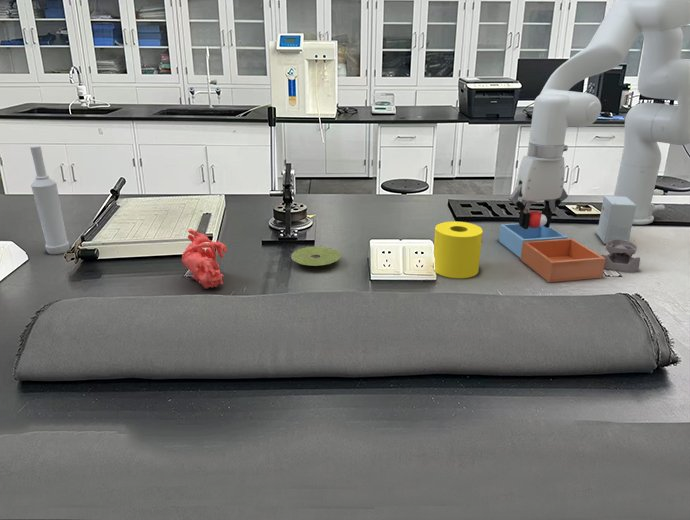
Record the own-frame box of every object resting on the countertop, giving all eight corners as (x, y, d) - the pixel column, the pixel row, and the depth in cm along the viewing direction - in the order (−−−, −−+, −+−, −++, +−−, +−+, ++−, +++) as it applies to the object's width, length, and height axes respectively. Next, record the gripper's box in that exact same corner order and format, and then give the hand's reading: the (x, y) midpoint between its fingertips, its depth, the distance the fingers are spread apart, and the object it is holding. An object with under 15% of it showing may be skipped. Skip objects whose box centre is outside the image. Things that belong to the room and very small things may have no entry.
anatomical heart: (212, 302, 106) (191, 254, 100) (182, 284, 114) (162, 238, 108) (246, 279, 111) (229, 232, 105) (216, 263, 119) (198, 218, 113)
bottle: (75, 248, 129) (53, 145, 119) (56, 256, 125) (32, 149, 115) (60, 245, 131) (37, 143, 121) (41, 252, 127) (16, 147, 117)
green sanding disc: (318, 250, 128) (317, 242, 128) (350, 263, 121) (351, 255, 120) (281, 262, 121) (280, 255, 120) (313, 277, 114) (313, 269, 113)
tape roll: (451, 281, 112) (454, 240, 108) (423, 265, 120) (426, 225, 116) (487, 272, 116) (492, 232, 112) (458, 257, 124) (462, 219, 121)
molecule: (523, 229, 127) (525, 212, 125) (524, 223, 131) (526, 206, 129) (545, 232, 125) (547, 215, 124) (546, 225, 129) (548, 209, 128)
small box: (628, 246, 131) (637, 205, 127) (603, 244, 132) (612, 204, 128) (619, 235, 138) (627, 196, 134) (596, 234, 139) (603, 195, 135)
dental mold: (639, 264, 121) (644, 243, 119) (636, 274, 115) (641, 253, 113) (601, 257, 125) (605, 237, 123) (596, 266, 119) (601, 246, 117)
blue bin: (540, 238, 136) (542, 221, 134) (564, 254, 126) (568, 237, 124) (498, 241, 134) (500, 224, 132) (520, 258, 124) (522, 240, 122)
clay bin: (569, 256, 125) (572, 238, 123) (601, 277, 114) (605, 258, 112) (520, 259, 123) (522, 241, 121) (548, 282, 112) (552, 262, 110)
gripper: (569, 146, 126) (557, 219, 133) (502, 149, 123) (494, 223, 130) (588, 153, 119) (575, 229, 126) (518, 155, 116) (508, 234, 123)
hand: (534, 225), depth 128 cm, fingers closed on molecule, 4 cm apart
